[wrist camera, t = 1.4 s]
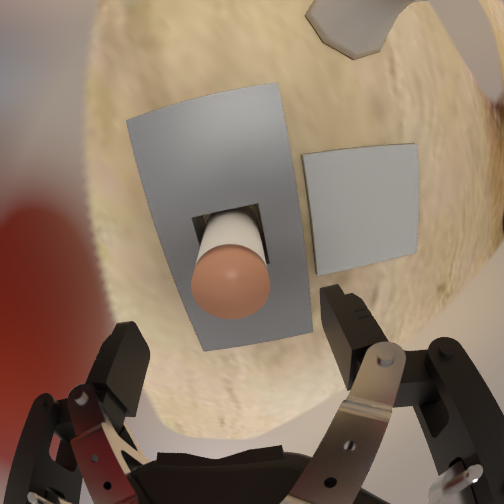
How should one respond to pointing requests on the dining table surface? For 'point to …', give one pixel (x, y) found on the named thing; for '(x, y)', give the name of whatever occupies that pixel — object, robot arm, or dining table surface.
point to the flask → (355, 23)
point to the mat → (362, 205)
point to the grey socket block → (227, 201)
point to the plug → (231, 266)
